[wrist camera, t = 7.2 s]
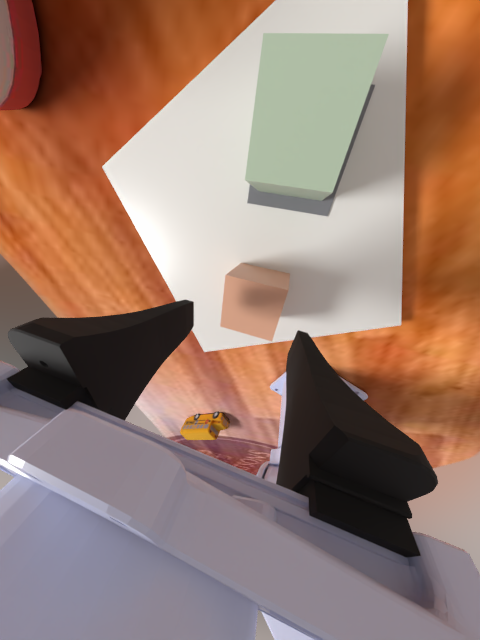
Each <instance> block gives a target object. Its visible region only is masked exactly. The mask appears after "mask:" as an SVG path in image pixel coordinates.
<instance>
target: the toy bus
mask: <svg viewBox="0 0 480 640" xmlns="http://www.w3.org/2000/svg"><path fill="white" fill-rule="evenodd" d="M229 424H230V421H229V420H228V419H227V418H226V417H225V415H224V414H223V413H219V412H215V413H214V414H204V415H200V414H196V415H195V416H192V417H189V418H187V419H186V421H185V423H184V425H183V427H182V429H181V431H180V433H181V435H182V436H183V437H185V438H186V439H187V440H215V439H217V437H218V435H219V432H220V430H224V429H227V428H228V427H229Z"/></svg>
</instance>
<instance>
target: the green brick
mask: <svg viewBox="0 0 480 640" xmlns="http://www.w3.org/2000/svg"><path fill="white" fill-rule="evenodd" d="M388 35H389V34H332V33H263V41H262V49H261V56H260V64H259V72H258V80H257V88H256V96H255V104H254V112H253V120H252V128H251V136H250V144H249V151H248V159H247V167H246V175H245V181H247V182H248V183H249V184H250V185H252V186H253V187H254V188H255V189H257V190H258V191H260V192H267V193H273V194H280V195H286V196H293V197H299V198H306V199H312V200H319V201H322V200H323V199H325V198H326V197H327V196H329V195H330V194H332V193H333V190H334V187H335V184H336V182H337V179H338V176H339V173H340V170H341V167H342V165H343V162H344V159H345V156H346V153H347V151H348V148H349V145H350V142H351V139H352V136H353V134H354V131H355V128H356V125H357V122H358V120H359V117H360V114H361V111H362V108H363V105H364V103H365V100H366V97H367V94H368V91H369V88H370V86H371V83H372V80H373V77H374V74H375V72H376V69H377V66H378V63H379V60H380V57H381V55H382V52H383V49H384V46H385V43H386V40H387V38H388Z"/></svg>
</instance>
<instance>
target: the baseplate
mask: <svg viewBox="0 0 480 640" xmlns="http://www.w3.org/2000/svg"><path fill="white" fill-rule="evenodd" d="M407 19H408V0H275V1H274V2H273V3H272V4H271V5H270V6H269V7H268V8H267V9H266V10H265V11H264V12H263V13H262V14H261V15H260V16H259V17H258V18H257V19H256V20H255V21H254V22H252V23H251V24H250V25H249V26H248V27H247V28H246V29H245V30H244V31H243V32H242V33H241V34H240V35H239V36H238V37H237V38H236V39H235V40H234V41H233V42H232V43H231V44H230V45H229V46H227V47H226V48H225V49H224V50H223V51H222V52H221V53H220V54H219V55H218V56H217V57H216V58H215V59H214V60H213V61H212V62H211V63H210V64H209V65H208V66H207V67H206V68H205V69H203V70H202V71H201V72H200V73H199V74H198V75H197V76H196V77H195V78H194V79H193V80H192V81H191V82H190V83H189V84H188V85H187V86H186V87H185V88H184V89H183V90H182V91H181V92H179V93H178V94H177V95H176V96H175V97H174V98H173V99H172V100H171V101H170V102H169V103H168V104H167V105H166V106H165V107H164V108H163V109H162V110H161V111H160V112H159V113H158V114H157V115H156V116H154V117H153V118H152V119H151V120H150V121H149V122H148V123H147V124H146V125H145V126H144V127H143V128H142V129H141V130H140V131H139V132H138V133H137V134H136V135H135V136H134V137H133V138H132V139H130V140H129V141H128V142H127V143H126V144H125V145H124V146H123V147H122V148H121V149H120V150H119V151H118V152H117V153H116V154H115V155H114V156H113V157H112V158H111V159H110V160H109V161H108V162H106V163H105V164H104V165H103V166H102V167H103V169H104V171H105V173H106V175H107V177H108V178H109V180H110V182H111V184H112V186H113V187H114V189H115V191H116V193H117V195H118V196H119V198H120V200H121V202H122V204H123V206H124V207H125V209H126V211H127V213H128V215H129V216H130V218H131V220H132V222H133V224H134V225H135V227H136V229H137V231H138V233H139V234H140V236H141V238H142V240H143V242H144V244H145V245H146V247H147V249H148V251H149V253H150V254H151V256H152V258H153V260H154V262H155V263H156V265H157V267H158V269H159V271H160V273H161V274H162V276H163V278H164V280H165V282H166V283H167V285H168V287H169V289H170V291H171V292H172V294H173V296H174V298H175V300H176V301H181V300H189V301H193V302H194V326H193V328H192V330H193V332H194V334H195V336H196V338H197V340H198V341H199V343H200V345H201V347H202V349H203V350H204V352H208V351H215V350H222V349H230V348H237V347H245V346H252V345H259V344H267V343H274V342H281V341H289V340H294V338H295V336H296V333H297V331H298V330H299V331H303V332H306V333H308V334H309V336H310V337H318V336H325V335H333V334H340V333H348V332H355V331H362V330H370V329H377V328H384V327H392V326H399V325H401V312H402V263H403V214H404V165H405V117H406V68H407ZM263 33H332V34H389V35H388V38H387V40H386V43H385V46H384V49H383V52H382V55H381V57H380V60H379V63H378V66H377V69H376V72H375V74H374V77H373V80H372V83H371V86H370V88H369V91H368V94H367V97H366V100H365V103H364V105H363V108H362V111H361V114H360V117H359V120H358V122H357V125H356V128H355V131H354V134H353V136H352V139H351V142H350V145H349V148H348V151H347V153H346V156H345V159H344V162H343V165H342V167H341V170H340V173H339V176H338V179H337V182H336V184H335V187H334V190H333V193H332V194H330V195H329V196H327V197H326V198H325V199H323V200H322V201H319V200H312V199H306V198H299V197H293V196H286V195H280V194H273V193H267V192H260V191H258V190H257V189H255V188H254V187H253V186H252V185H250V184H249V183H248V182H247V181H245V175H246V167H247V159H248V151H249V144H250V136H251V128H252V120H253V112H254V104H255V96H256V88H257V80H258V72H259V64H260V56H261V49H262V41H263ZM240 263H245V264H249V265H254V266H258V267H263V268H267V269H272V270H276V271H280V272H285V273H289V274H290V280H289V290H288V293H287V296H286V299H285V303H284V306H283V309H282V312H281V315H280V318H279V321H278V324H277V327H276V331H275V334H274V337H273V340H272V341H269V340H265V339H262V338H258V337H255V336H251V335H248V334H244V333H241V332H238V331H234V330H231V329H227V328H224V327H220V323H221V313H222V303H223V294H224V284H225V275H226V274H227V273H229V272H230V271H231V270H232V269H234V268H235V267H236V266H238V265H239V264H240Z"/></svg>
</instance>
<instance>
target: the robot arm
mask: <svg viewBox="0 0 480 640" xmlns="http://www.w3.org/2000/svg"><path fill="white" fill-rule="evenodd" d="M193 326H194V302H193V301H189V300H181V301H177V302H173V303H170V304H166V305H162V306H159V307H155V308H151V309H147V310H143V311H138V312H133V313H127V314H120V315H111V316H102V317H86V318H39V319H36V320H33V321H31V322H28V323H25V324H23V325H20V326H18V327H15V328H12V329H11V330H10V331H9V332H8V338H9V340H10V342H11V344H12V345H13V347H14V348H15V350H16V351H17V352H18V353H19V355H20V356H21V357H22V359H23V360H24V361H25V363H26V364H27V365H28V367H27V368H25V369H23V370H21V371H20V370H19V369H17V368H16V367H14V366H12V365H10V364H7V363H5V362H2V361H0V470H2V471H4V472H6V473H7V474H9V475H11V476H13V477H14V478H13V479H12V480H11V481H10V482H9V483H8V484H7V485H6V486H4V487H3V488H2V489H1V490H0V640H255V634H256V623H257V613H258V610H260V611H262V614H263V616H264V618H265V620H266V622H267V624H268V627H269V629H270V631H271V633H272V635H273V637H274V639H275V640H480V574H479V572H478V571H477V568H476V566H475V565H474V563H473V561H472V559H471V557H470V555H469V554H468V553H467V552H466V551H465V550H463V549H460V548H458V547H456V546H453V545H451V544H448V543H446V542H443V541H441V540H438V539H436V538H434V537H431V536H428V535H425V534H422V533H416V532H412V531H411V528H410V525H409V523H408V520H407V518H408V519H410V518H412V513H411V511H410V508H409V505H408V503H407V501H410V500H413V499H415V498H418V497H421V496H423V495H426V494H428V493H430V492H431V491H433V490H434V489H435V487H436V485H437V484H438V480H437V476H436V474H435V472H434V471H433V469H432V467H431V465H430V463H429V461H428V460H427V458H426V456H425V454H424V452H423V451H422V449H421V447H420V445H419V444H417V443H416V442H415V441H413V440H412V439H411V438H409V437H408V436H407V435H405V434H404V433H403V432H401V431H400V430H399V429H397V428H396V427H395V426H393V425H392V424H391V423H389V422H388V421H387V420H386V419H384V418H383V417H382V416H381V415H380V414H378V413H377V412H376V411H375V410H374V409H372V408H371V407H370V406H369V405H368V404H367V403H366V402H364V401H363V400H365V399H367V398H368V395H367V394H366V393H365V392H364V391H362V390H360V389H359V388H357V387H356V386H354V385H353V384H351V383H349V382H348V381H346V380H345V379H343V378H341V377H340V376H338V374H337V373H336V372H335V371H334V370H333V369H332V367H331V366H330V365H329V363H328V362H327V361H326V360H325V358H324V357H323V355H322V354H321V353H320V351H319V350H318V348H317V347H316V345H315V343H314V342H313V340H312V339H311V337H310V336H309V334H308V333H306V332H303V331H299V330H298V331H297V333H296V336H295V338H294V341H293V343H292V345H291V348H290V350H289V353H288V358H287V365H286V372H285V373H284V374H283V375H281V376H280V377H279V378H278V379H277V380H275V381H274V382H273V383H272V384H271V385H270V388H271V389H272V390H273V391H275V392H277V393H278V394H280V395H281V396H282V401H281V414H280V427H279V440H278V449H272V450H271V456H270V461H267V462H264V463H263V464H262V465H261V467H260V468H259V470H258V473H257V475H253V474H251V473H248V472H246V471H244V470H241V469H239V468H237V467H234V466H232V465H229V464H227V463H225V462H222V461H220V460H217V459H215V458H213V457H210V456H208V455H205V454H203V453H201V452H198V451H196V450H193V449H191V448H189V447H186V446H184V445H182V444H179V443H177V442H174V441H172V440H170V439H167V438H165V437H162V436H160V435H157V434H155V433H153V432H150V431H148V430H146V429H143V428H141V427H138V426H136V425H134V424H131V423H129V422H127V421H125V419H126V417H127V416H128V414H129V412H130V411H131V409H132V407H133V406H134V404H135V402H136V401H137V399H138V398H139V396H140V395H141V393H142V392H143V390H144V388H145V387H146V386H147V384H148V383H149V381H150V380H151V378H152V377H153V375H154V374H155V373H156V371H157V370H158V369H159V367H160V366H161V365H162V363H163V362H164V361H165V360H166V359H167V357H168V356H169V355H170V354H171V353H172V352H173V351H174V350H175V349H176V348H177V347H178V346H179V344H180V343H181V342H182V341H183V340H184V339H185V338H186V337H187V335H188V334H189V332H190V331H191V329H192V328H193Z"/></svg>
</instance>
